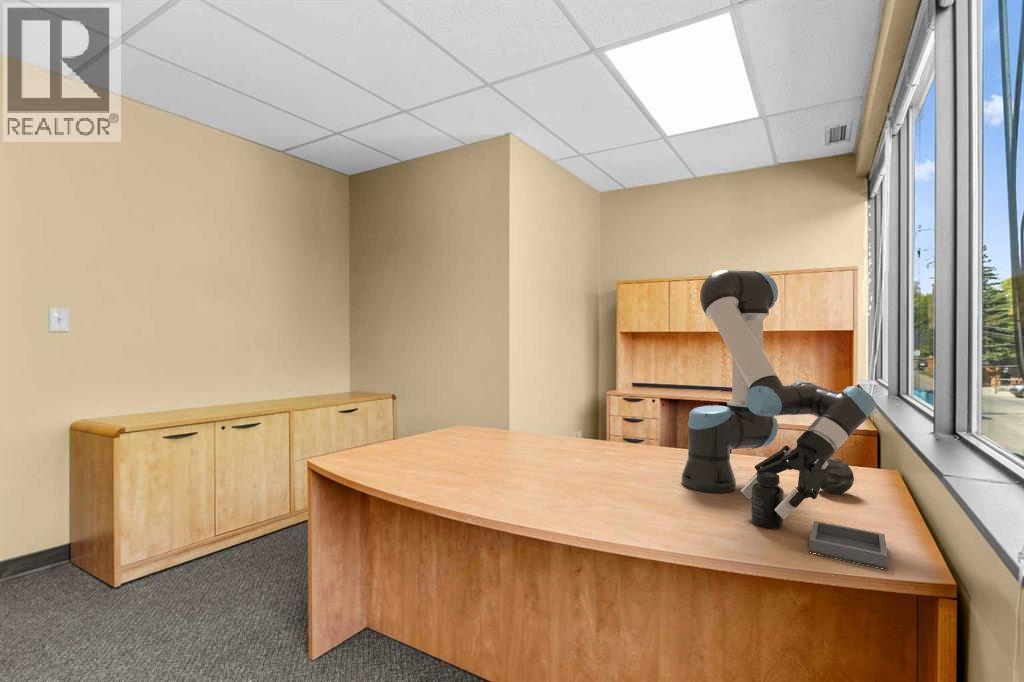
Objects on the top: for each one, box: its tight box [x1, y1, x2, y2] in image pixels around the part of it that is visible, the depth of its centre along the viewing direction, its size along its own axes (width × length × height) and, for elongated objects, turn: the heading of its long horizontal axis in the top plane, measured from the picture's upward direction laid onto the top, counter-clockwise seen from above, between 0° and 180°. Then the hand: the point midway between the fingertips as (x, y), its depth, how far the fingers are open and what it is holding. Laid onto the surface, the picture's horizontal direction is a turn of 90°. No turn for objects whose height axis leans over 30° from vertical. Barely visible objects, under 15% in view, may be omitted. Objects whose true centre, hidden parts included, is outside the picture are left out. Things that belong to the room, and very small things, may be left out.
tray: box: [808, 520, 889, 570], centre depth 106 cm, size 13×13×3 cm
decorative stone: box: [820, 457, 855, 495], centre depth 144 cm, size 10×10×10 cm
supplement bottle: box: [750, 472, 785, 530], centre depth 120 cm, size 7×7×12 cm
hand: (760, 504), depth 119 cm, fingers open, 13 cm apart
